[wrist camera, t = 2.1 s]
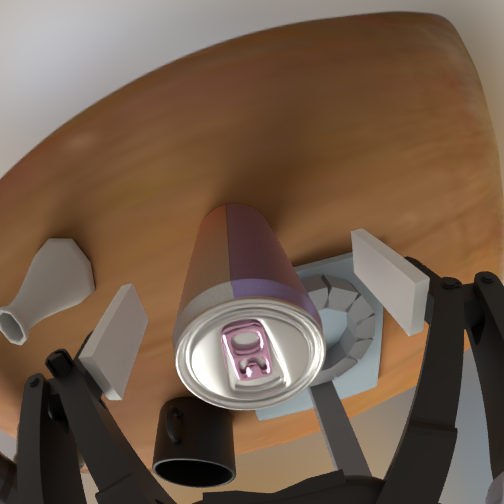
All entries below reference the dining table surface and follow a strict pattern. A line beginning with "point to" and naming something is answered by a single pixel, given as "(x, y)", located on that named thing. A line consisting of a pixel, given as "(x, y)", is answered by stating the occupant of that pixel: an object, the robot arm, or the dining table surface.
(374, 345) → the seat board
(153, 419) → the dining table surface
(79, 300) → the flask
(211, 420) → the mug
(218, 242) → the beverage can
